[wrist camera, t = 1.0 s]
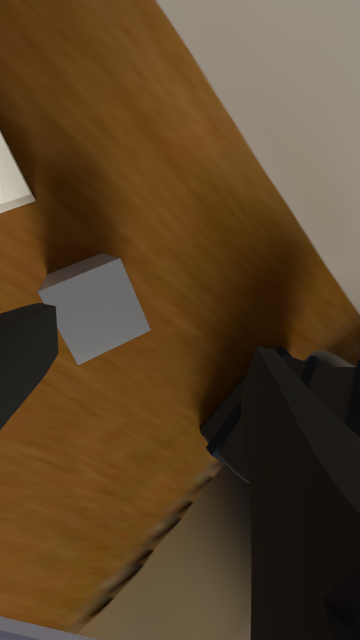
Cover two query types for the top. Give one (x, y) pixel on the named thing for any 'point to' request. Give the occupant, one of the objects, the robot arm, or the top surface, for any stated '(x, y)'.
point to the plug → (94, 306)
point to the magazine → (323, 381)
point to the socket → (11, 181)
